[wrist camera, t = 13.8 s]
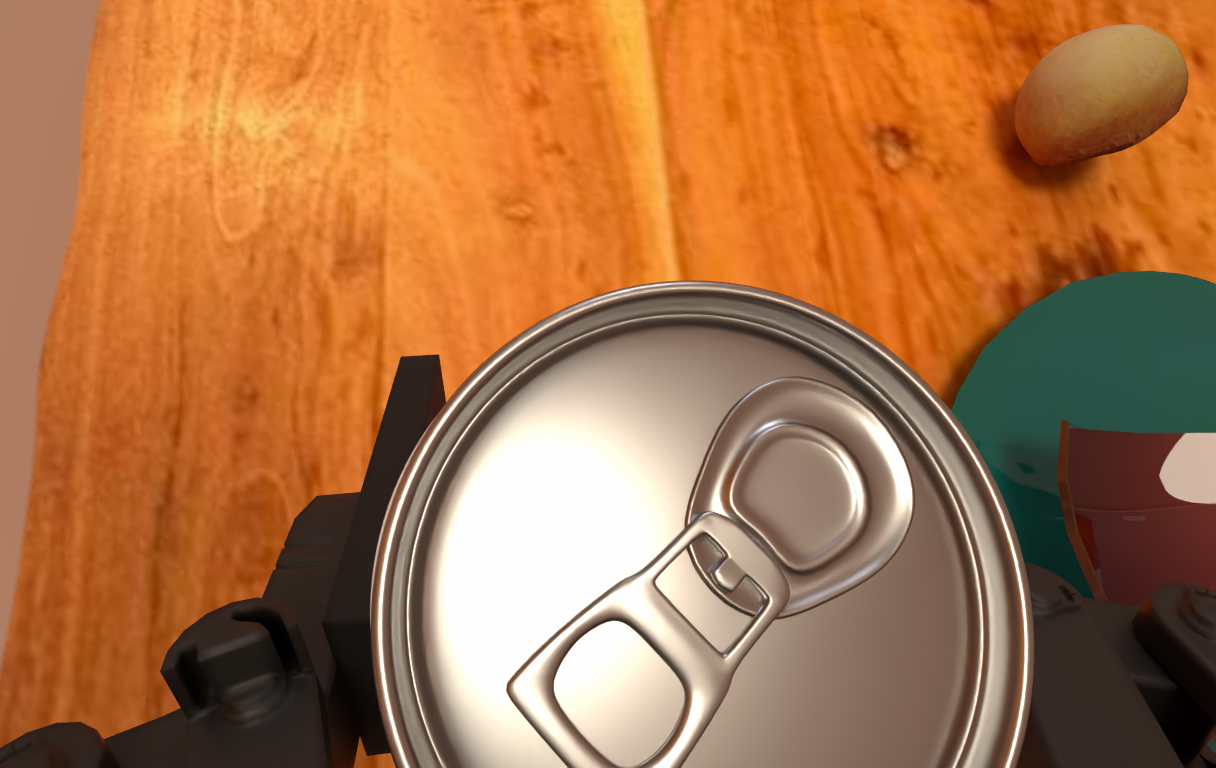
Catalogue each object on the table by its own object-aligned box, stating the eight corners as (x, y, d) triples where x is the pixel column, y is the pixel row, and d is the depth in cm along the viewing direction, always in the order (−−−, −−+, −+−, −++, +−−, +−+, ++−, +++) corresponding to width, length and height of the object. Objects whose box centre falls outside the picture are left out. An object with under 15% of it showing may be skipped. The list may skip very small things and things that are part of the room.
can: (761, 563, 17) (1215, 591, 6) (593, 753, 16) (747, 1346, 4) (597, 396, 18) (702, 117, 6) (420, 561, 16) (126, 591, 5)
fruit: (1102, 116, 42) (1231, 19, 34) (1080, 217, 39) (1212, 137, 32) (998, 71, 42) (1103, -37, 34) (970, 168, 39) (1075, 77, 32)
